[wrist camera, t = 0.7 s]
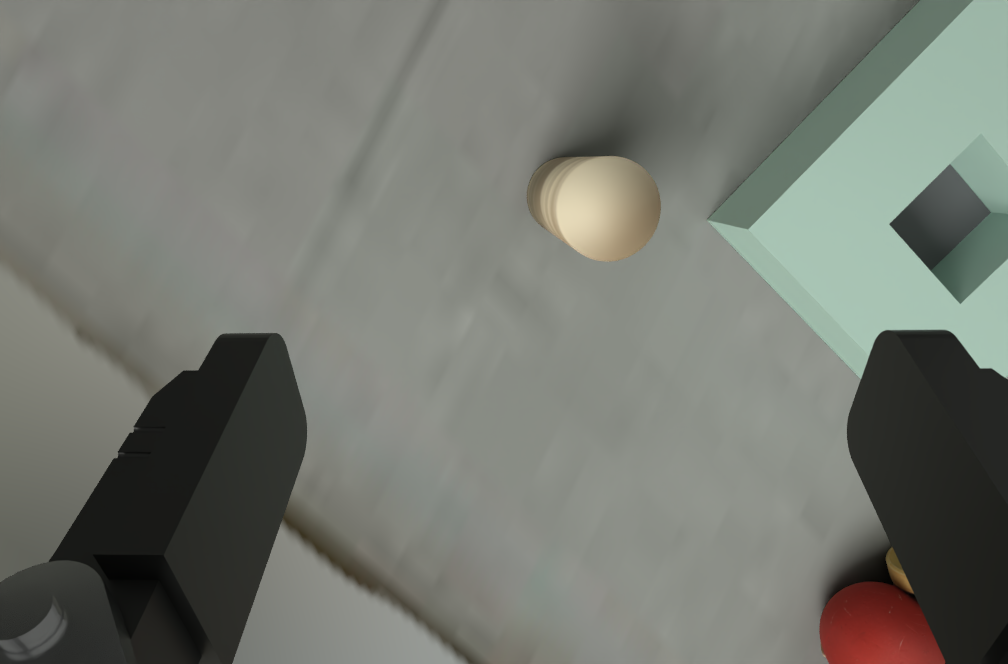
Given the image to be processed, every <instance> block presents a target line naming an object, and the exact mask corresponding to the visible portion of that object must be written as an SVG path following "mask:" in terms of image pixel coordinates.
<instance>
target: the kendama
mask: <svg viewBox="0 0 1008 664" xmlns="http://www.w3.org/2000/svg"><path fill="white" fill-rule="evenodd" d="M886 563H887V567H888V570H889V574H890V577H891V579H892V581H893V583H894V584H893V585H890V584H887V583H882V582H861V583H856V584H853V585H850V586H848V587H846V588H843V589H842V590H840V591H839V592H838V593H836V594H835V595H834V596H833V597H832V598H831V599H830V600H829V602H828V603H827V604H826V606H825V608H824V610H823V613H822V615H821V619H820V640H821V650H822V654H823V656H824V657H826V658H827V660H828V662H829V664H946V662H945V659H944V657H943V655H942V653H941V651H940V649H939V646H938V644H937V642H936V640H935V638H934V636H933V634H932V631H931V629H930V627H929V625H928V623H927V621H926V618H925V616H924V614H923V612H922V610H921V608H920V605H919V603H918V601H917V599H916V597H915V595H914V593H913V590H912V588H911V586H910V584H909V582H908V580H907V577H906V575H905V573H904V571H903V569H902V567H901V564H900V562H899V560H898V558H897V556H896V554H895V552H894V549H893V547H891V548H890V549H889V550H888V552H887V555H886Z"/></svg>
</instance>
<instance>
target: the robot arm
mask: <svg viewBox="0 0 1008 664" xmlns="http://www.w3.org/2000/svg"><path fill="white" fill-rule="evenodd" d="M847 440H848V447H849V452H850V455H851V458H852V461H853V463H854V465H855V467H856V469H857V472H858V474H859V476H860V478H861V480H862V482H863V485H864V487H865V489H866V491H867V493H868V495H869V498H870V500H871V502H872V504H873V506H874V508H875V510H876V513H877V515H878V517H879V519H880V521H881V523H882V526H883V528H884V530H885V532H886V534H887V536H888V539H889V541H890V543H891V545H892V547H893V549H894V552H895V554H896V556H897V558H898V560H899V562H900V564H901V567H902V569H903V571H904V573H905V575H906V577H907V580H908V582H909V584H910V586H911V588H912V590H913V593H914V595H915V597H916V599H917V601H918V603H919V605H920V608H921V610H922V612H923V614H924V616H925V618H926V621H927V623H928V625H929V627H930V629H931V631H932V634H933V636H934V638H935V640H936V642H937V644H938V646H939V649H940V651H941V653H942V655H943V657H944V659H945V662H946V664H1008V379H1006V378H1005V377H1003V376H1002V375H1000V374H999V373H998V372H996V371H995V370H993V369H992V368H979V366H978V365H977V364H976V362H975V361H974V360H973V358H972V357H971V356H970V354H969V353H968V352H967V350H966V349H965V348H964V346H963V345H962V344H961V342H960V341H959V340H958V338H957V337H956V336H955V335H954V334H953V333H951V332H950V331H948V330H885V331H882V332H881V333H880V334H879V335H878V336H877V338H876V339H875V341H874V344H873V347H872V349H871V352H870V355H869V358H868V361H867V364H866V367H865V369H864V372H863V375H862V378H861V381H860V384H859V387H858V390H857V392H856V395H855V398H854V401H853V404H852V407H851V410H850V413H849V416H848V423H847ZM306 441H307V422H306V415H305V411H304V407H303V404H302V400H301V397H300V393H299V389H298V386H297V382H296V379H295V375H294V372H293V368H292V365H291V361H290V358H289V354H288V351H287V347H286V344H285V342H284V340H283V338H282V337H281V335H279V334H277V333H235V334H222V335H220V336H219V337H218V338H217V339H216V341H215V342H214V344H213V346H212V348H211V349H210V351H209V353H208V355H207V356H206V358H205V360H204V362H203V363H202V365H201V367H200V369H199V370H198V371H183V372H181V373H180V374H179V375H178V376H177V377H175V378H174V379H173V380H172V381H171V382H169V383H168V384H167V385H166V386H165V387H163V388H162V389H161V390H160V391H159V392H157V393H156V394H155V395H154V396H153V397H152V398H151V400H150V401H149V403H148V405H147V406H146V408H145V409H144V411H143V413H142V414H141V416H140V417H139V419H138V421H137V422H136V424H135V426H134V432H133V433H129V435H128V437H127V438H126V440H125V441H124V443H123V444H122V446H121V448H120V449H119V451H118V458H114V459H113V460H112V462H111V464H110V465H109V467H108V468H107V470H106V472H105V473H104V475H103V476H102V478H101V480H100V481H99V483H98V485H97V486H96V488H95V489H94V491H93V493H92V494H91V496H90V497H89V499H88V500H87V502H86V504H85V505H84V507H83V509H82V510H81V512H80V513H79V515H78V516H77V518H76V520H75V521H74V523H73V524H72V526H71V528H70V529H69V531H68V532H67V534H66V536H65V537H64V539H63V540H62V542H61V544H60V545H59V547H58V548H57V550H56V552H55V553H54V555H53V556H52V557H51V559H50V560H49V562H47V563H42V564H38V565H35V566H32V567H29V568H27V569H24V570H22V571H20V572H17V573H16V574H14V575H12V576H10V577H8V578H6V579H4V580H3V581H2V582H0V664H232V663H233V660H234V657H235V654H236V651H237V648H238V645H239V642H240V639H241V636H242V633H243V631H244V628H245V625H246V622H247V619H248V616H249V613H250V611H251V608H252V605H253V602H254V599H255V596H256V593H257V590H258V587H259V584H260V581H261V579H262V576H263V573H264V570H265V567H266V564H267V562H268V559H269V556H270V553H271V550H272V547H273V544H274V541H275V538H276V536H277V533H278V530H279V527H280V524H281V521H282V518H283V515H284V512H285V510H286V507H287V504H288V501H289V498H290V495H291V492H292V489H293V486H294V484H295V481H296V478H297V475H298V472H299V469H300V466H301V463H302V460H303V457H304V454H305V449H306Z"/></svg>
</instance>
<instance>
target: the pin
mask: <svg viewBox="0 0 1008 664" xmlns="http://www.w3.org/2000/svg"><path fill="white" fill-rule="evenodd" d="M527 203H528V207H529V210H530V212H531V214H532V216H533V218H534V219H535V220H536V221H537V223H538V224H540V225H541V226H542V227H543V228H545V229H546V230H548V231H549V232H551V233H552V234H553V235H555V236H556V237H558V238H559V239H561V240H562V241H563V242H565V243H566V244H568V245H569V246H571V247H572V248H573V249H575V250H576V251H578V252H579V253H581V254H582V255H584V256H586V257H588V258H591V259H594V260H598V261H617V260H621V259H624V258H627V257H629V256H631V255H633V254H635V253H636V252H638V251H639V250H640V249H641V248H643V247H644V246H645V245H646V244H647V242H648V241H649V240H650V239H651V237H652V236H653V234H654V232H655V230H656V228H657V225H658V222H659V218H660V211H661V202H660V195H659V192H658V188H657V186H656V184H655V182H654V180H653V179H652V177H651V176H650V174H649V173H648V172H647V171H646V170H645V169H644V168H643V167H642V166H640V165H639V164H637V163H636V162H634V161H632V160H629V159H626V158H623V157H617V156H594V157H560V158H555V159H552V160H550V161H548V162H546V163H544V164H543V165H541V166H540V167H539V168H538V169H537V170H536V172H535V173H534V174H533V176H532V177H531V180H530V182H529V185H528V189H527Z"/></svg>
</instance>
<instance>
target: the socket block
mask: <svg viewBox="0 0 1008 664" xmlns="http://www.w3.org/2000/svg"><path fill="white" fill-rule="evenodd" d="M707 221H708V222H709V223H710V224H711V225H712V226H713V227H714V228H715V229H716V230H717V231H718V232H719V233H720V234H721V235H722V236H723V237H724V238H725V239H726V240H727V241H728V242H729V243H730V244H731V245H732V247H733V248H734V249H735V250H736V251H737V252H738V253H739V254H740V255H741V256H742V257H743V258H744V259H745V260H746V261H747V262H748V263H749V264H750V265H751V266H752V267H753V268H754V269H755V270H756V271H757V272H758V273H759V274H760V275H761V276H762V278H763V279H764V280H765V281H766V282H767V283H768V284H769V285H770V286H771V287H772V288H773V289H774V290H775V291H776V292H777V293H778V294H779V295H780V296H781V297H782V298H783V299H784V300H785V301H786V302H787V303H788V304H789V305H790V306H791V307H792V308H793V310H794V311H795V312H796V313H797V314H798V315H799V316H800V317H801V318H802V319H803V320H804V321H805V322H806V323H807V324H808V325H809V326H810V327H811V328H812V329H813V330H814V331H815V332H816V333H817V334H818V335H819V336H820V337H821V338H822V339H823V341H824V342H825V343H826V344H827V345H828V346H829V347H830V348H831V349H832V350H833V351H834V352H835V353H836V354H837V355H838V356H839V357H840V358H841V359H842V360H843V361H844V362H845V363H846V364H847V365H848V366H849V367H850V368H851V369H852V370H853V372H854V373H855V374H856V375H857V376H858V377H859V378H860V379H861V378H862V375H863V372H864V369H865V367H866V364H867V361H868V358H869V355H870V352H871V349H872V347H873V344H874V341H875V339H876V338H877V336H878V335H879V334H880V333H881V332H882V331H885V330H948V331H950V332H951V333H953V334H954V335H955V336H956V337H957V338H958V340H959V341H960V342H961V344H962V345H963V346H964V348H965V349H966V350H967V352H968V353H969V354H970V356H971V357H972V358H973V360H974V361H975V362H976V364H977V365H978V366H979V368H992V369H993V370H995V371H996V372H998V373H999V374H1000V375H1002V376H1003V377H1005V378H1006V377H1007V376H1008V0H920V1H919V2H918V3H917V4H916V5H915V6H914V7H913V8H912V9H911V10H910V11H909V12H908V13H907V14H906V15H905V16H904V17H903V19H902V20H901V21H900V22H899V23H898V24H897V25H896V26H895V27H894V28H893V29H892V30H891V31H890V32H889V33H888V34H887V35H886V36H885V37H884V38H883V39H882V40H881V41H880V42H879V43H878V44H877V45H876V46H875V47H874V48H873V49H872V50H871V51H870V52H869V54H868V55H867V56H866V57H865V58H864V59H863V60H862V61H861V62H860V63H859V64H858V65H857V66H856V67H855V68H854V69H853V70H852V71H851V72H850V73H849V74H848V75H847V76H846V77H845V78H844V79H843V80H842V81H841V82H840V83H839V84H838V85H837V86H836V88H835V89H834V90H833V91H832V92H831V93H830V94H829V95H828V96H827V97H826V98H825V99H824V100H823V101H822V102H821V103H820V104H819V105H818V106H817V107H816V108H815V109H814V110H813V111H812V112H811V113H810V114H809V115H808V116H807V117H806V118H805V119H804V120H803V122H802V123H801V124H800V125H799V126H798V127H797V128H796V129H795V130H794V131H793V132H792V133H791V134H790V135H789V136H788V137H787V138H786V139H785V140H784V141H783V142H782V143H781V144H780V145H779V146H778V147H777V148H776V149H775V150H774V151H773V152H772V153H771V154H770V156H769V157H768V158H767V159H766V160H765V161H764V162H763V163H762V164H761V165H760V166H759V167H758V168H757V169H756V170H755V171H754V172H753V173H752V174H751V175H750V176H749V177H748V178H747V179H746V180H745V181H744V182H743V183H742V184H741V185H740V186H739V187H738V188H737V190H736V191H735V192H734V193H733V194H732V195H731V196H730V197H729V198H728V199H727V200H726V201H725V202H724V203H723V204H722V205H721V206H720V207H719V208H718V209H717V210H716V211H715V212H714V213H713V214H712V215H711V216H710V217H709V218H708V219H707Z"/></svg>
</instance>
